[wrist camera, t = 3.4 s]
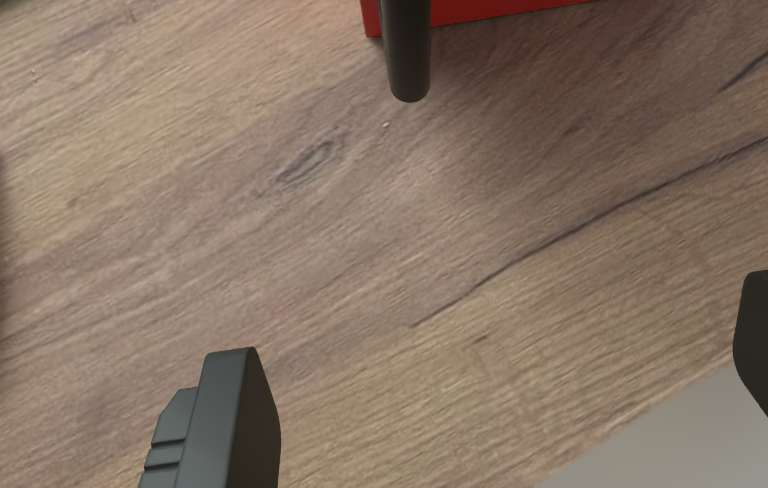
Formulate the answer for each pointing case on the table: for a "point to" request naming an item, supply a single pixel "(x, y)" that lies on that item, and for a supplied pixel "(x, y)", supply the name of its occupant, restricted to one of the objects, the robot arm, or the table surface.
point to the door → (428, 32)
